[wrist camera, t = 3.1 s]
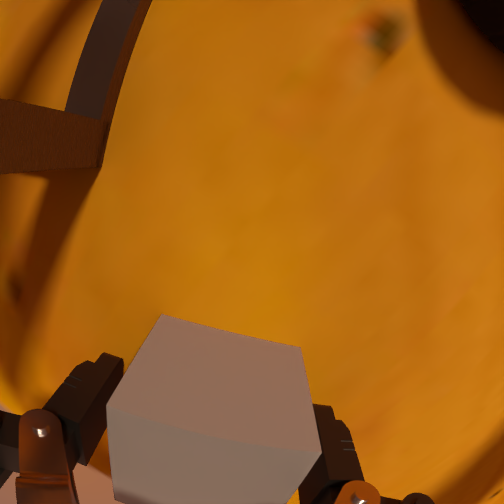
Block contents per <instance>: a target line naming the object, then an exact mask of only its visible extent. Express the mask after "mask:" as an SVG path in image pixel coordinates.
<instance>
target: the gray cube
mask: <svg viewBox="0 0 504 504" xmlns="http://www.w3.org/2000/svg"><path fill="white" fill-rule="evenodd" d="M106 411H107V430H108V445H109V456H110V466H111V475H112V483H113V491H114V498H115V500H117V501H120V502H122V503H125V504H286V503H287V502H288V500H289V499H290V498H291V496H292V495H293V494H294V492H295V491H296V490H297V488H298V487H299V485H300V484H301V483H302V481H303V480H304V478H305V477H306V475H307V474H308V473H309V471H310V470H311V468H312V467H313V465H314V464H315V462H316V461H317V459H318V458H319V456H320V455H321V453H322V450H321V445H320V440H319V435H318V430H317V425H316V420H315V415H314V410H313V405H312V400H311V395H310V390H309V385H308V381H307V376H306V371H305V366H304V362H303V357H302V352H301V348H300V347H296V346H291V345H286V344H281V343H276V342H272V341H267V340H263V339H258V338H254V337H249V336H245V335H241V334H236V333H232V332H228V331H224V330H220V329H216V328H212V327H208V326H204V325H200V324H196V323H193V322H189V321H185V320H181V319H178V318H174V317H171V316H167V315H164V314H161V316H160V317H159V319H158V321H157V322H156V324H155V325H154V327H153V329H152V330H151V332H150V333H149V335H148V337H147V338H146V340H145V341H144V343H143V345H142V346H141V348H140V350H139V351H138V353H137V354H136V356H135V358H134V359H133V361H132V363H131V364H130V366H129V368H128V369H127V371H126V373H125V374H124V376H123V378H122V379H121V381H120V383H119V384H118V386H117V388H116V389H115V391H114V393H113V394H112V396H111V398H110V400H109V401H108V403H107V405H106Z"/></svg>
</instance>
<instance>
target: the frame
mask: <svg viewBox="0 0 504 504" xmlns="http://www.w3.org/2000/svg"><path fill="white" fill-rule="evenodd" d="M151 1H152V0H103V1H102V3H101V5H100V8H99V10H98V12H97V15H96V17H95V19H94V22H93V24H92V27H91V29H90V32H89V34H88V37H87V40H86V42H85V45H84V48H83V51H82V54H81V57H80V59H79V62H78V66H77V69H76V72H75V75H74V78H73V82H72V85H71V88H70V92H69V96H68V99H67V103H66V107H65V111H60V110H56V109H51V108H47V107H42V106H37V105H32V104H27V103H22V102H17V101H12V100H6V99H0V174H8V173H18V172H29V171H42V170H56V169H73V168H94V167H102V162H103V157H104V152H105V147H106V143H107V138H108V134H109V130H110V125H111V121H112V117H113V113H114V110H115V106H116V102H117V99H118V95H119V91H120V88H121V85H122V81H123V78H124V75H125V72H126V68H127V65H128V62H129V59H130V56H131V53H132V50H133V48H134V45H135V42H136V39H137V37H138V34H139V31H140V29H141V26H142V23H143V21H144V18H145V16H146V13H147V11H148V9H149V6H150V4H151Z"/></svg>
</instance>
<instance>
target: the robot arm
mask: <svg viewBox="0 0 504 504" xmlns="http://www.w3.org/2000/svg"><path fill="white" fill-rule="evenodd" d="M123 366H124V361H123V359H122V358H119V357H116V356H113V355H111V354H108V353H105V352H104V353H102V354H101V355H100V357H99V358H98V359H97V361H96V362H95V363H93V362H91V361H88V360H87V361H85V362H83V363H81V364H79V365H77V366H76V367H75V368H74V369H73V371H72V372H71V373H70V374H69V376H68V377H67V378H66V379H65V380H64V383H62V384H61V385H60V387H59V388H58V389H57V390H56V392H55V393H54V394H53V396H52V397H51V398H50V399H49V401H48V402H47V403H46V404H45V406H44V407H43V408H42V409H33V410H30V411H27V412H26V413H24V414H23V415H16V414H12V413H8V412H4V411H1V410H0V488H1V487H2V486H3V484H4V483H5V482H6V480H7V479H8V478H9V476H10V475H11V474H12V472H18V473H20V476H19V477H16V482H15V486H16V498H17V504H79V500H78V495H77V491H76V486H75V481H74V476H73V469H74V467H75V465H76V463H77V462H78V463H80V464H82V465H85V466H87V464H88V462H89V460H90V458H91V456H92V454H93V452H94V450H95V448H96V447H97V445H98V443H99V441H100V439H101V437H102V435H103V433H104V431H105V429H106V427H107V411H106V405H107V403H108V401H109V400H110V398H111V396H112V394H113V393H114V391H115V389H116V388H117V386H118V384H119V383H120V381H121V379H122V378H123ZM312 405H313V410H314V415H315V420H316V425H317V430H318V435H319V440H320V445H321V450H322V453H321V455H320V456H319V458H318V459H317V461H316V462H315V464H314V465H313V467H312V468H311V470H310V471H309V473H308V474H307V475H306V477H305V478H304V480H303V481H302V483H301V484H300V485H299V487H298V491H299V500H300V504H435V503H434V502H433V500H432V499H431V498H430V497H428V496H427V495H425V494H422V493H412V494H409V495H407V496H406V497H405V498H404V499H403V500H397V499H391V498H386V497H382V496H380V494H379V492H378V490H377V489H376V488H375V487H374V486H373V485H371V484H369V483H367V482H365V480H364V477H363V474H362V470H361V467H360V463H359V460H358V457H357V453H356V451H355V447H354V444H353V442H352V441H353V440H352V437H351V434H350V431H349V429H348V428H347V427H346V425H345V424H344V423H343V422H342V420H335V416H334V413H333V409H332V407H331V406H326V405H318V404H312Z"/></svg>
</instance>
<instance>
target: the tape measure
mask: <svg viewBox="0 0 504 504" xmlns="http://www.w3.org/2000/svg"><path fill="white" fill-rule="evenodd" d="M460 2H461V3H462V4H463V6H464V8H465V10H466V11H467V13H468V14H469V16H470V17H471V18H472V19H473V21H474V22H475V23H476V25H477V26H478V27H479V28H480V30H481V31H482V32H483V33H484V34H485V35H487V36H488V38H489V39H490V41H491V42H492V43H493V44H494V45H495V46H496V47H497V48H499V49H500V50H501V51H502V52H503V53H504V0H460Z"/></svg>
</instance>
